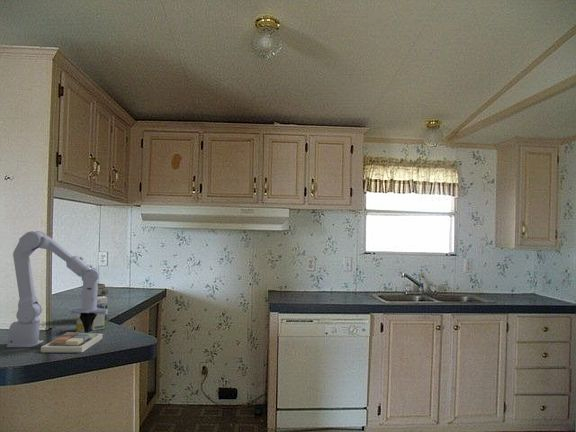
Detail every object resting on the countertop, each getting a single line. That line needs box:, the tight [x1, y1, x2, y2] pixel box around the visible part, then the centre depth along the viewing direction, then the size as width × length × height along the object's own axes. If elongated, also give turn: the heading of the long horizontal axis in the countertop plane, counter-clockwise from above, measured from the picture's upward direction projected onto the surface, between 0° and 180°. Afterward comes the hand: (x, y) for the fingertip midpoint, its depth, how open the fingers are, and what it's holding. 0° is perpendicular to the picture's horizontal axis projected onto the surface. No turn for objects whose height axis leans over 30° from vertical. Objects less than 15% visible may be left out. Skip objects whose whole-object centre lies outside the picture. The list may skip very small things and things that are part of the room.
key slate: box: [73, 333, 91, 341], centre depth 149 cm, size 4×4×2 cm
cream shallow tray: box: [40, 332, 104, 354], centre depth 149 cm, size 14×19×2 cm
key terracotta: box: [53, 335, 72, 343], centre depth 146 cm, size 4×4×2 cm
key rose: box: [61, 331, 79, 338], centre depth 152 cm, size 4×4×2 cm
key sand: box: [66, 338, 83, 345], centre depth 144 cm, size 4×4×2 cm
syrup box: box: [90, 295, 109, 331], centre depth 175 cm, size 6×6×14 cm
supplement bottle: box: [75, 314, 87, 333], centre depth 169 cm, size 5×5×10 cm
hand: (87, 331), depth 155 cm, fingers closed
